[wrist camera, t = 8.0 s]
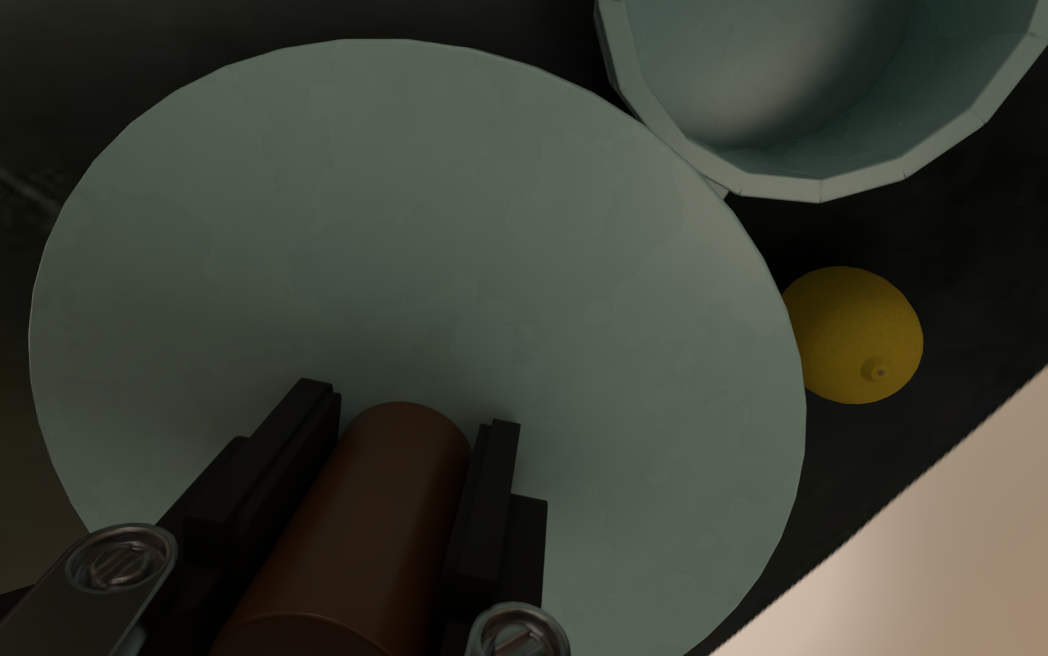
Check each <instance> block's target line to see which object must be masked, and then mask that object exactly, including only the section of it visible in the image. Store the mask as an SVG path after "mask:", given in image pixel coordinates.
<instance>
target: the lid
mask: <svg viewBox="0 0 1048 656" xmlns="http://www.w3.org/2000/svg"><path fill="white" fill-rule="evenodd" d="M28 340H29V363H30V380H31V386H32V391H33V396H34V402H35V407H36V412H37V417H38V422H39V425H40V428H41V431H42V434H43V437H44V441H45V444H46V447H47V450H48V453H49V456H50V459H51V462H52V464H53V466H54V468H55V470H56V473H57V475H58V477H59V479H60V481H61V483H62V485H63V487H64V489H65V491H66V494H67V496H68V498H69V500H70V502H71V504H72V505H73V507H74V508H75V510H76V512H77V513H78V515H79V516H80V518H81V519H82V521H83V523H84V524H85V526H86V527H87V529H88V531H89V532H90V533H92V532H94V531H96V530H99V529H102V528H106V527H109V526H112V525H117V524H124V523H149V524H152V525H155V524H156V523H157V522H158V521H159V519H160V518H161V517H162V516H163V515H164V514H165V513H166V512H167V511H168V510H169V508H170V507H171V506H172V505H173V504H174V503H175V502H176V501H177V500H178V498H179V497H180V496H181V495H182V494H183V493H184V492H185V491H186V490H187V488H188V487H189V486H190V485H191V484H192V483H193V482H194V481H195V480H196V478H197V477H198V476H199V475H200V474H201V473H202V472H203V471H204V470H205V469H206V467H207V466H208V465H209V464H210V463H211V462H212V461H213V460H214V459H215V457H216V456H217V455H218V454H219V453H220V452H221V451H222V450H223V449H224V447H225V446H226V445H227V444H228V443H229V442H230V441H231V440H232V439H233V438H235V437H236V436H244V437H250V436H251V435H252V434H253V433H254V432H255V430H256V429H257V428H258V427H259V426H260V425H261V423H262V422H263V421H264V420H265V419H266V418H267V416H268V415H269V414H270V413H271V412H272V411H273V409H274V408H275V407H276V406H277V405H278V404H279V402H280V401H281V400H282V399H283V398H284V397H285V396H286V394H287V393H288V392H289V391H290V390H291V389H292V387H293V386H294V385H295V384H296V383H297V382H298V380H299V379H301V378H307V379H312V380H317V381H321V382H326V383H331V384H332V385H333V392H336V393H340V394H341V397H342V401H341V411H340V421H339V431H338V441H337V444H336V446H335V447H334V449H333V450H332V452H331V454H330V455H329V457H328V459H327V460H326V462H325V463H324V465H323V467H322V468H321V470H320V471H319V473H318V475H317V476H316V478H315V479H314V481H313V483H312V484H311V486H310V488H309V489H308V491H307V492H306V494H305V496H304V497H303V499H302V500H301V502H300V504H299V505H298V507H297V509H296V510H295V512H294V513H293V515H292V517H291V518H290V520H289V521H288V523H287V525H286V526H285V528H284V529H283V531H282V533H281V534H280V536H279V538H278V539H277V541H276V542H275V544H274V546H273V547H272V549H271V550H270V552H269V554H268V555H267V557H266V558H265V560H264V562H263V563H262V565H261V567H260V568H259V570H258V571H257V573H256V575H255V576H254V578H253V579H252V581H251V583H250V584H249V586H248V588H247V589H246V591H245V592H244V594H243V596H242V597H241V599H240V600H239V602H238V604H237V605H236V607H235V608H234V610H233V612H232V613H231V615H230V617H229V618H228V620H227V621H226V623H225V625H224V626H223V628H222V629H221V631H220V633H219V634H218V636H217V638H216V639H215V641H214V642H213V644H212V646H211V648H210V650H209V653H208V656H429V652H430V634H429V633H430V628H431V623H432V618H433V613H434V608H435V603H436V597H437V592H438V587H439V582H440V578H441V573H442V569H443V564H444V560H445V556H446V552H447V548H448V545H449V541H450V537H451V533H452V530H453V526H454V522H455V518H456V514H457V511H458V507H459V503H460V499H461V495H462V492H463V488H464V484H465V480H466V476H467V473H468V469H469V465H470V461H471V457H472V454H473V450H474V446H475V442H476V439H477V435H478V431H479V427H480V424H481V423H482V424H487V425H491V426H492V421H493V418H495V419H500V420H505V421H509V422H514V423H519V424H521V428H520V434H519V441H518V448H517V454H516V461H515V467H514V474H513V480H512V487H511V493H513V494H518V495H523V496H527V497H532V498H537V499H541V500H546V501H547V502H548V514H547V529H546V545H545V560H544V576H543V591H542V607H541V609H543V610H544V611H545V612H547V613H548V614H550V615H551V616H552V617H554V618H555V619H556V620H557V622H558V623H559V624H560V625H561V626H562V627H563V629H564V630H565V633H566V635H567V637H568V639H569V642H570V649H571V656H683V655H684V654H685V653H687V652H688V651H689V650H691V649H692V648H693V647H694V646H696V645H697V644H698V643H700V642H701V641H702V640H703V639H705V638H706V637H707V636H708V635H709V634H710V633H711V632H712V631H713V630H714V629H715V628H716V627H717V626H718V625H719V624H720V623H721V622H722V621H723V620H724V619H725V618H726V617H727V616H728V615H729V614H730V613H731V612H732V611H733V610H734V609H735V608H736V607H737V606H738V604H739V603H740V602H741V600H742V599H743V598H744V596H745V595H746V594H747V592H748V591H749V590H750V588H751V587H752V586H753V584H754V583H755V582H756V580H757V579H758V578H759V576H760V575H761V574H762V572H763V570H764V568H765V566H766V564H767V563H768V561H769V559H770V557H771V555H772V553H773V552H774V550H775V548H776V546H777V544H778V542H779V541H780V539H781V536H782V534H783V531H784V528H785V526H786V523H787V520H788V517H789V515H790V512H791V509H792V506H793V504H794V501H795V498H796V494H797V489H798V484H799V479H800V474H801V469H802V463H803V458H804V453H805V431H806V398H805V389H804V381H803V372H802V364H801V357H800V353H799V350H798V346H797V343H796V339H795V336H794V332H793V329H792V325H791V321H790V318H789V314H788V311H787V308H786V306H785V303H784V301H783V299H782V297H781V295H780V292H779V290H778V288H777V286H776V284H775V281H774V279H773V277H772V275H771V273H770V270H769V268H768V266H767V264H766V262H765V260H764V258H763V256H762V255H761V253H760V252H759V250H758V249H757V247H756V246H755V244H754V243H753V241H752V240H751V238H750V237H749V235H748V233H747V232H746V230H745V229H744V227H743V226H742V224H741V223H740V221H739V220H738V218H737V217H736V215H735V214H734V212H733V211H732V210H731V209H730V207H729V206H728V205H727V204H726V203H725V202H724V201H723V200H722V198H721V197H720V196H719V195H718V194H717V193H716V192H715V191H714V189H713V188H712V187H711V186H710V185H709V184H708V183H707V181H706V180H705V179H704V178H703V177H702V176H701V175H700V174H699V172H698V171H697V170H696V169H695V168H694V167H693V166H692V165H691V164H690V163H689V162H687V161H686V160H685V159H684V158H683V157H682V156H680V155H679V154H678V153H677V152H676V151H675V150H673V149H672V148H671V147H670V146H669V145H667V144H666V143H665V142H664V141H663V140H662V139H660V138H659V137H658V136H657V135H656V134H655V133H653V132H652V131H651V130H650V129H649V128H647V127H646V126H645V125H644V124H642V123H641V122H639V121H638V120H636V119H634V118H633V117H631V116H630V115H628V114H626V113H625V112H623V111H622V110H620V109H619V108H617V107H615V106H614V105H612V104H611V103H609V102H607V101H606V100H604V99H603V98H601V97H600V96H598V95H596V94H595V93H593V92H591V91H589V90H587V89H585V88H582V87H580V86H578V85H576V84H574V83H571V82H569V81H567V80H565V79H563V78H560V77H558V76H556V75H554V74H552V73H549V72H547V71H545V70H543V69H540V68H538V67H536V66H533V65H529V64H526V63H523V62H519V61H516V60H512V59H509V58H505V57H502V56H499V55H495V54H492V53H488V52H485V51H482V50H478V49H474V48H467V47H460V46H453V45H446V44H440V43H433V42H426V41H419V40H411V39H340V40H333V41H327V42H320V43H313V44H307V45H300V46H293V47H286V48H281V49H278V50H275V51H271V52H268V53H265V54H262V55H259V56H255V57H252V58H249V59H246V60H243V61H239V62H236V63H233V64H230V65H227V66H224V67H222V68H220V69H218V70H216V71H214V72H212V73H210V74H208V75H206V76H204V77H202V78H200V79H198V80H196V81H194V82H192V83H190V84H188V85H186V86H184V87H182V88H180V89H178V90H176V91H174V92H173V93H171V94H170V95H169V96H167V97H166V98H164V99H163V100H162V101H160V102H159V103H158V104H156V105H155V106H153V107H152V108H151V109H149V110H148V111H146V112H145V113H144V114H142V115H141V116H140V117H138V118H137V119H135V120H134V121H133V122H131V123H130V124H129V125H128V126H127V127H126V128H125V129H124V130H123V131H122V132H121V133H120V134H119V135H118V136H117V137H116V138H115V139H114V140H113V142H112V143H111V144H110V145H109V146H108V147H107V148H106V149H105V150H104V151H103V152H102V153H101V154H100V155H99V156H98V157H97V158H96V159H95V160H94V161H93V163H92V164H91V166H90V167H89V169H88V170H87V171H86V173H85V174H84V176H83V177H82V179H81V180H80V182H79V183H78V184H77V186H76V187H75V189H74V190H73V192H72V193H71V195H70V196H69V197H68V199H67V200H66V202H65V204H64V206H63V208H62V210H61V213H60V215H59V217H58V219H57V221H56V223H55V225H54V228H53V230H52V232H51V234H50V236H49V238H48V241H47V243H46V245H45V248H44V252H43V256H42V259H41V263H40V266H39V270H38V274H37V277H36V281H35V285H34V288H33V295H32V305H31V314H30V323H29V332H28Z"/></svg>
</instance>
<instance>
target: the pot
mask: <svg viewBox="0 0 1048 656" xmlns="http://www.w3.org/2000/svg"><path fill="white" fill-rule="evenodd" d="M593 18H594V24H595V28H596V32H597V36H598V40H599V44H600V49H601V53H602V56H603V59H604V63H605V67H606V71H607V75H608V79H609V82H610V84H611V86H612V87H613V89H614V90H615V91H616V93H617V94H618V95H619V97H620V98H621V99H622V101H623V102H624V103H625V105H626V106H627V108H628V109H629V110H630V111H631V113H632V114H633V115H634V117H635V118H636V119H637V120H638V121H639V122H641V123H642V124H644V125H645V126H646V127H647V128H649V129H650V130H651V131H652V132H653V133H655V134H656V135H657V136H658V137H659V138H660V139H662V140H663V141H664V142H665V143H666V144H667V145H669V146H670V147H671V148H672V149H673V150H675V151H676V152H677V153H678V154H679V155H680V156H682V157H683V158H684V159H685V160H686V161H687V162H689V163H690V164H691V165H692V166H693V167H694V168H695V169H696V170H697V171H698V172H699V174H700V175H701V176H702V177H703V178H704V179H705V180H706V181H707V183H708V184H709V185H710V186H711V187H712V188H713V189H714V191H715V192H716V193H717V194H718V195H719V196H720V197H721V198H722V200H724V198H725V197H726V195H727V194H728V192H729V191H731V192H732V193H734V194H736V195H739V196H746V197H756V198H766V199H777V200H787V201H797V202H808V203H823V202H827V201H830V200H834V199H837V198H841V197H844V196H848V195H852V194H855V193H859V192H862V191H866V190H869V189H873V188H877V187H880V186H884V185H887V184H891V183H895V182H898V181H902V180H904V178H907V177H909V176H910V175H912V174H913V173H915V172H916V171H918V170H919V169H921V168H922V167H924V166H925V165H926V164H928V163H929V162H931V161H932V160H934V159H935V158H937V157H938V156H940V155H941V154H942V153H944V152H945V151H947V150H948V149H950V148H951V147H953V146H954V145H956V144H957V143H958V142H960V141H961V140H963V139H964V138H966V137H967V136H969V135H970V134H972V133H973V132H975V131H976V130H977V129H979V128H980V127H982V126H983V125H984V123H987V122H988V120H989V119H990V118H991V117H992V115H993V114H994V113H995V111H996V110H997V109H998V108H999V106H1000V105H1001V104H1002V102H1003V101H1004V100H1005V99H1006V97H1007V96H1008V95H1009V94H1010V92H1011V91H1012V90H1013V88H1014V87H1015V86H1016V85H1017V83H1018V82H1019V81H1020V79H1021V78H1022V77H1023V76H1024V74H1025V73H1026V72H1027V70H1028V69H1029V68H1030V67H1031V65H1032V64H1033V63H1034V61H1035V60H1036V59H1037V58H1038V56H1039V55H1040V54H1041V53H1042V51H1043V50H1044V49H1045V47H1046V46H1047V45H1048V0H595V4H594V13H593Z"/></svg>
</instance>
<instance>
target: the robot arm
mask: <svg viewBox="0 0 1048 656" xmlns="http://www.w3.org/2000/svg"><path fill="white" fill-rule="evenodd" d="M341 401H342V397H341V394H340V393H336V392H333V385H332V384H331V383H326V382H321V381H317V380H312V379H307V378H301V379H299V380H298V382H297V383H296V384H295V385H294V386H293V387H292V389H291V390H290V391H289V392H288V393H287V394H286V396H285V397H284V398H283V399H282V400H281V401H280V402H279V404H278V405H277V406H276V407H275V408H274V409H273V411H272V412H271V413H270V414H269V415H268V416H267V418H266V419H265V420H264V421H263V422H262V423H261V425H260V426H259V427H258V428H257V429H256V430H255V432H254V433H253V434H252V435H251V436H250V437H244V436H236V437H235V438H233V439H232V440H231V441H230V442H229V443H228V444H227V445H226V446H225V447H224V449H223V450H222V451H221V452H220V453H219V454H218V455H217V456H216V457H215V459H214V460H213V461H212V462H211V463H210V464H209V465H208V466H207V467H206V469H205V470H204V471H203V472H202V473H201V474H200V475H199V476H198V477H197V478H196V480H195V481H194V482H193V483H192V484H191V485H190V486H189V487H188V488H187V490H186V491H185V492H184V493H183V494H182V495H181V496H180V497H179V498H178V500H177V501H176V502H175V503H174V504H173V505H172V506H171V507H170V508H169V510H168V511H167V512H166V513H165V514H164V515H163V516H162V517H161V518H160V519H159V521H158V522H157V523H156V524H155V525H152V524H149V523H124V524H117V525H112V526H109V527H106V528H102V529H99V530H96V531H94V532H92V533H90V534H88V535H86V536H85V537H83V538H81V539H79V540H78V541H77V542H75V543H74V544H73V545H72V546H71V547H69V548H68V549H67V550H66V551H65V552H64V553H63V554H62V555H61V556H60V558H59V559H58V560H57V561H56V562H55V563H54V564H53V565H52V566H51V567H50V568H49V569H48V570H47V572H46V573H45V574H44V575H43V576H42V577H41V578H40V579H39V580H38V581H37V582H36V583H35V584H34V585H30V586H27V587H24V588H21V589H17V590H14V591H11V592H8V593H4V594H1V595H0V656H208V653H209V650H210V648H211V646H212V644H213V642H214V641H215V639H216V638H217V636H218V634H219V633H220V631H221V629H222V628H223V626H224V625H225V623H226V621H227V620H228V618H229V617H230V615H231V613H232V612H233V610H234V608H235V607H236V605H237V604H238V602H239V600H240V599H241V597H242V596H243V594H244V592H245V591H246V589H247V588H248V586H249V584H250V583H251V581H252V579H253V578H254V576H255V575H256V573H257V571H258V570H259V568H260V567H261V565H262V563H263V562H264V560H265V558H266V557H267V555H268V554H269V552H270V550H271V549H272V547H273V546H274V544H275V542H276V541H277V539H278V538H279V536H280V534H281V533H282V531H283V529H284V528H285V526H286V525H287V523H288V521H289V520H290V518H291V517H292V515H293V513H294V512H295V510H296V509H297V507H298V505H299V504H300V502H301V500H302V499H303V497H304V496H305V494H306V492H307V491H308V489H309V488H310V486H311V484H312V483H313V481H314V479H315V478H316V476H317V475H318V473H319V471H320V470H321V468H322V467H323V465H324V463H325V462H326V460H327V459H328V457H329V455H330V454H331V452H332V450H333V449H334V447H335V446H336V444H337V441H338V431H339V421H340V411H341ZM520 428H521V424H519V423H514V422H509V421H505V420H500V419H495V418H493V421H492V426H491V425H487V424H482V423H481V424H480V427H479V431H478V435H477V439H476V442H475V446H474V450H473V454H472V457H471V461H470V465H469V469H468V473H467V476H466V480H465V484H464V488H463V492H462V495H461V499H460V503H459V507H458V511H457V514H456V518H455V522H454V526H453V530H452V533H451V537H450V541H449V545H448V548H447V552H446V556H445V560H444V564H443V569H442V573H441V578H440V582H439V587H438V592H437V597H436V603H435V608H434V613H433V618H432V623H431V628H430V633H429V634H430V652H429V656H571V649H570V642H569V639H568V637H567V635H566V633H565V630H564V629H563V627H562V626H561V625H560V624H559V623H558V622H557V620H556V619H555V618H554V617H552V616H551V615H550V614H548V613H547V612H545V611H544V610H543V609H541V607H542V591H543V576H544V560H545V545H546V529H547V514H548V502H547V501H546V500H541V499H537V498H532V497H527V496H523V495H518V494H513V493H511V487H512V480H513V474H514V467H515V461H516V454H517V448H518V441H519V434H520Z"/></svg>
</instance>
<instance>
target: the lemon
mask: <svg viewBox="0 0 1048 656" xmlns="http://www.w3.org/2000/svg"><path fill="white" fill-rule="evenodd" d="M781 297H782V299H783V301H784V303H785V306H786V308H787V311H788V314H789V318H790V321H791V325H792V329H793V332H794V336H795V339H796V343H797V346H798V350H799V353H800V357H801V364H802V372H803V381H804V387H805V388H807V389H809V390H811V391H812V392H814V393H816V394H818V395H819V396H821V397H823V398H825V399H829V400H833V401H836V402H840V403H846V404H863V403H869V402H875V401H878V400H880V399H883V398H886V397H888V396H890V395H891V394H893V393H895V392H896V391H898V390H899V389H901V388H902V387H903V386H904V385H905V384H906V383H907V382H908V381H909V380H910V379H911V377H912V376H913V374H914V372H915V371H916V369H917V368H918V365H919V362H920V359H921V356H922V352H923V334H922V331H921V327H920V323H919V320H918V317H917V315H916V313H915V311H914V310H913V308H912V307H911V305H910V304H909V302H908V301H907V299H906V298H905V296H904V295H903V294H902V293H901V292H900V291H899V290H898V289H896V288H895V287H894V286H893V285H891V284H890V283H889V282H888V281H887V280H885V279H884V278H882V277H880V276H878V275H875V274H873V273H871V272H868V271H866V270H863V269H860V268H853V267H846V266H834V267H824V268H821V269H818V270H814V271H811V272H808V273H807V274H805V275H803V276H802V277H800V278H798V279H796V280H795V281H794V282H793V283H792V284H791V285H790V286H789V287H788V288H787V289H786V290H785V291H784V293H783V294H782V295H781Z"/></svg>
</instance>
